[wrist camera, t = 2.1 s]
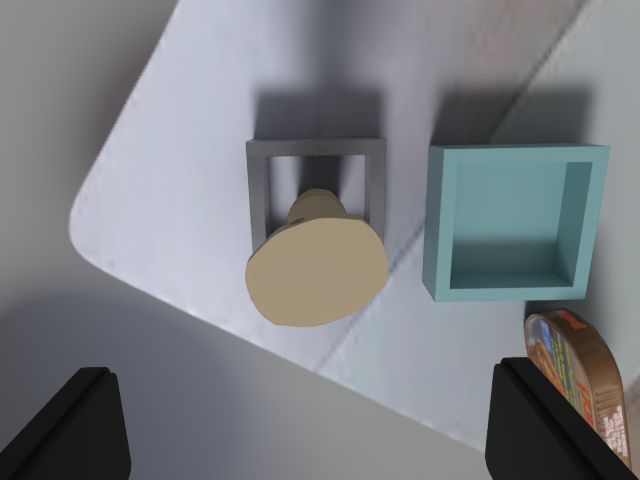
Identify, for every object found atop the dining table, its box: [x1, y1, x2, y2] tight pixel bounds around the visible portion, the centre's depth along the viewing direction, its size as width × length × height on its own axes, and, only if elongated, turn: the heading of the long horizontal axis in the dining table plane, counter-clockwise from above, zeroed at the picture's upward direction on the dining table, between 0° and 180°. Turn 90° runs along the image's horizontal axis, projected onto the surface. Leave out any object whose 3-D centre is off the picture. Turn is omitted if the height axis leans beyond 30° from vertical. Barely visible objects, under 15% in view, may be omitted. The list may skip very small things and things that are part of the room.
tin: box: [524, 308, 632, 471], centre depth 34 cm, size 15×3×8 cm, turn 16°
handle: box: [245, 187, 389, 327], centre depth 26 cm, size 5×6×15 cm
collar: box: [246, 137, 386, 253], centre depth 32 cm, size 10×9×4 cm
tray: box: [422, 143, 610, 302], centre depth 32 cm, size 11×11×4 cm
